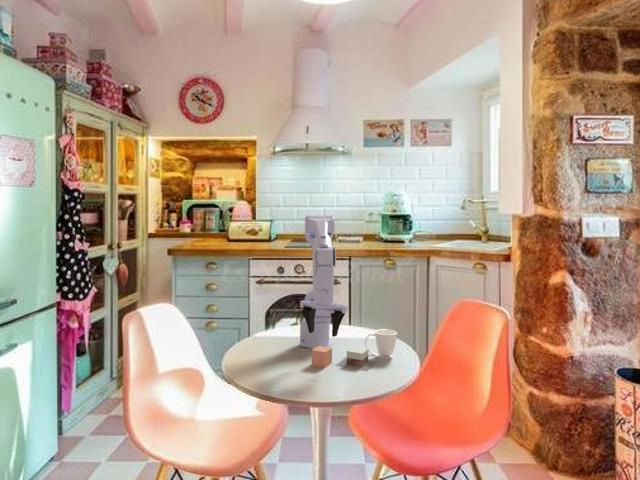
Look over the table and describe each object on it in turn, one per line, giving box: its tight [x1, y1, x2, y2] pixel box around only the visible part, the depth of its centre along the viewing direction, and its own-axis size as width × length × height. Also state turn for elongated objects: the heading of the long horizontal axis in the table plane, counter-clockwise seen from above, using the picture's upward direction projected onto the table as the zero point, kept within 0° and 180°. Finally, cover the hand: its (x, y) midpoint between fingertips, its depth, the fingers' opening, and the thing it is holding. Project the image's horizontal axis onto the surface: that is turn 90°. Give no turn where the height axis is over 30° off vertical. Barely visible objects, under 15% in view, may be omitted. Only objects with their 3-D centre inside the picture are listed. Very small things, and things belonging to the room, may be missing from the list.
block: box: [311, 346, 333, 368], centre depth 141 cm, size 4×4×5 cm
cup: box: [364, 328, 398, 359], centre depth 150 cm, size 7×10×8 cm
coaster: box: [335, 356, 379, 372], centre depth 143 cm, size 10×10×1 cm
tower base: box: [346, 355, 369, 367], centre depth 143 cm, size 5×5×2 cm
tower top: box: [346, 346, 369, 360], centre depth 143 cm, size 5×5×2 cm
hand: (322, 334), depth 141 cm, fingers open, 7 cm apart
